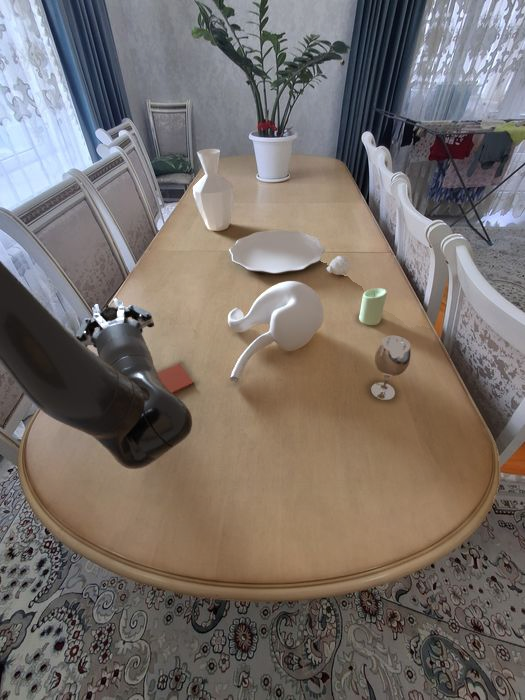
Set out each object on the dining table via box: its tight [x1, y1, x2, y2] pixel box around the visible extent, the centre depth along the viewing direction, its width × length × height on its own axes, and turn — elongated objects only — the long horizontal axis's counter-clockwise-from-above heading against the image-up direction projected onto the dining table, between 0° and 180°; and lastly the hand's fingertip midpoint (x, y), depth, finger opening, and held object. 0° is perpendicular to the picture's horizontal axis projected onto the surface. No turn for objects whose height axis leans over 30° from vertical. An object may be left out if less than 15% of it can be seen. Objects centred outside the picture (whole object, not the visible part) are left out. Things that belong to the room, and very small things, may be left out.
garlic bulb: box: [326, 255, 351, 276], centre depth 99 cm, size 6×6×5 cm
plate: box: [228, 229, 326, 275], centre depth 110 cm, size 29×29×2 cm
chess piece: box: [101, 303, 118, 322], centre depth 69 cm, size 6×6×12 cm
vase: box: [192, 148, 235, 232], centre depth 123 cm, size 14×14×25 cm
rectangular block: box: [157, 362, 194, 394], centre depth 70 cm, size 18×7×1 cm, turn 123°
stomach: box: [227, 280, 325, 383], centre depth 76 cm, size 23×13×24 cm
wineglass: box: [370, 335, 412, 401], centre depth 63 cm, size 6×6×12 cm
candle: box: [358, 287, 388, 326], centre depth 82 cm, size 5×5×8 cm
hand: (107, 305), depth 68 cm, fingers closed on chess piece, 3 cm apart
